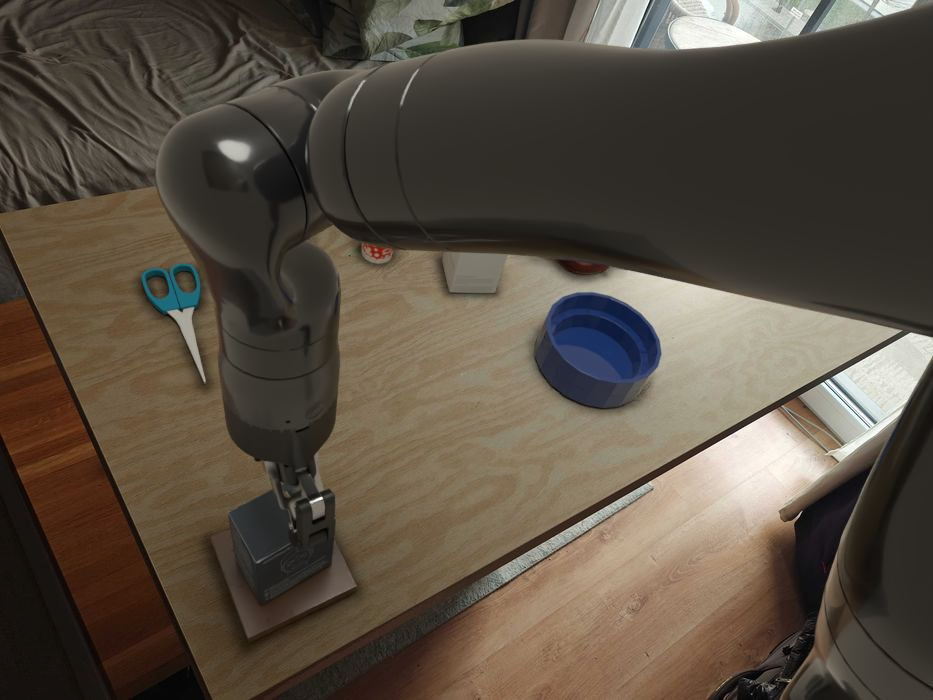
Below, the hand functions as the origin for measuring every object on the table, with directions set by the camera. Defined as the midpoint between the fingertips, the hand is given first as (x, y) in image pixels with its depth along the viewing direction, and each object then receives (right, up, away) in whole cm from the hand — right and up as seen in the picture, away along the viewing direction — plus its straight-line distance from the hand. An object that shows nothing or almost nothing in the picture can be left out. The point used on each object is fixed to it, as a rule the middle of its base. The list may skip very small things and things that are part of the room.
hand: (284, 495), depth 56 cm
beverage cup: (+2, +27, +44) cm, 52 cm away
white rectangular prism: (+16, +23, +45) cm, 53 cm away
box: (-3, -9, +10) cm, 14 cm away
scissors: (-20, +15, +28) cm, 38 cm away
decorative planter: (+33, +27, +53) cm, 68 cm away
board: (-3, -10, +11) cm, 15 cm away
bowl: (+33, +11, +38) cm, 52 cm away
